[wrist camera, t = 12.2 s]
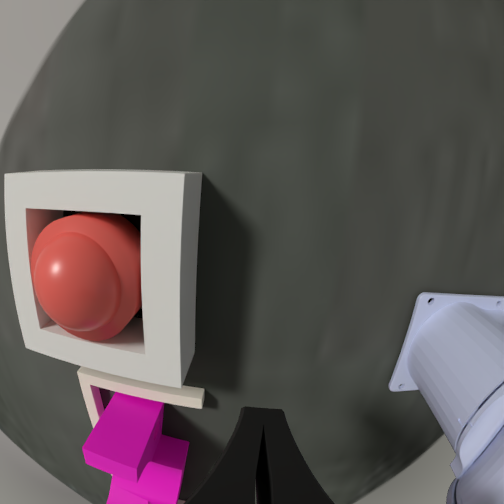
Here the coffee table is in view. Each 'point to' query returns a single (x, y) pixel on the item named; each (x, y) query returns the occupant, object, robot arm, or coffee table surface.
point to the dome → (89, 273)
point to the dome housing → (152, 265)
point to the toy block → (137, 452)
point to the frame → (133, 392)
